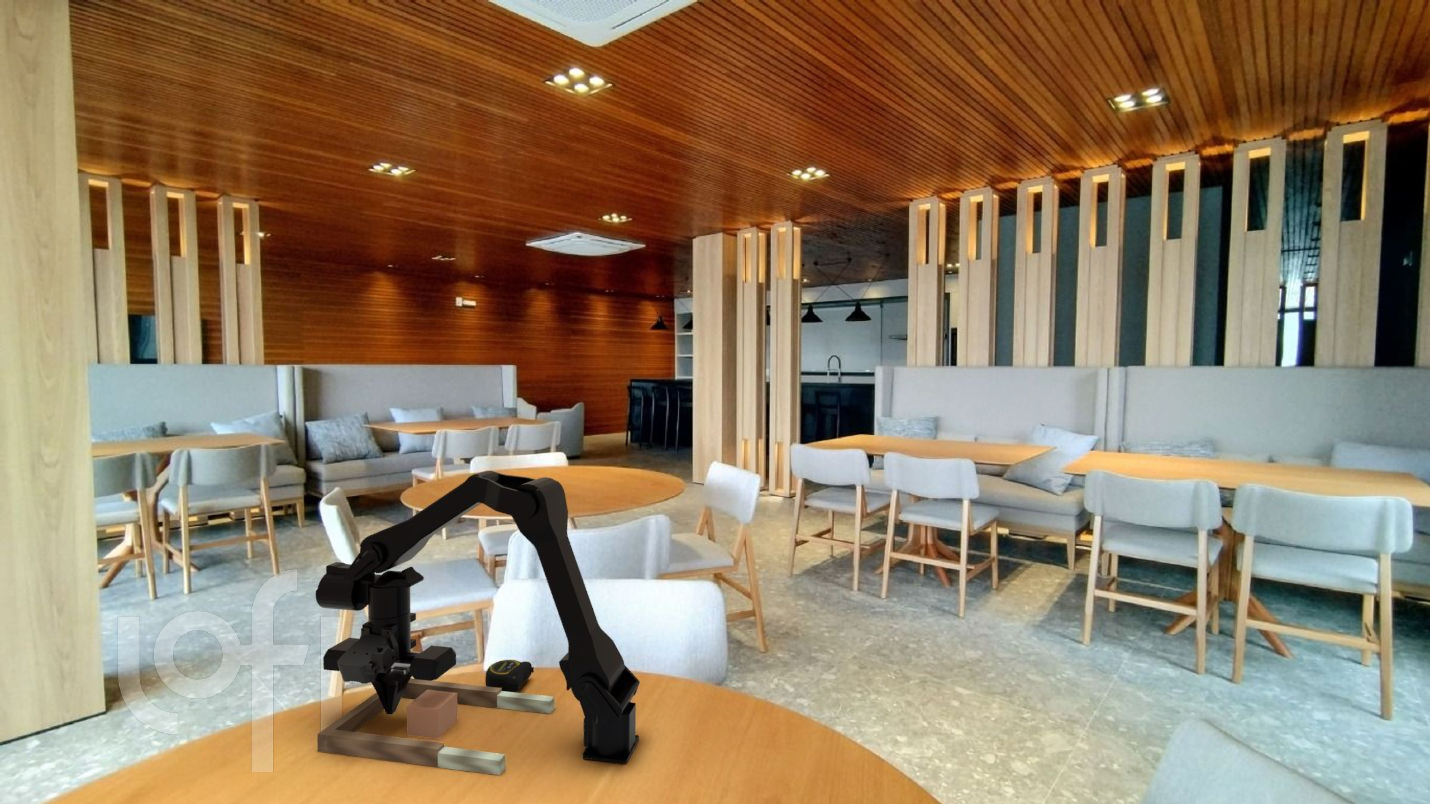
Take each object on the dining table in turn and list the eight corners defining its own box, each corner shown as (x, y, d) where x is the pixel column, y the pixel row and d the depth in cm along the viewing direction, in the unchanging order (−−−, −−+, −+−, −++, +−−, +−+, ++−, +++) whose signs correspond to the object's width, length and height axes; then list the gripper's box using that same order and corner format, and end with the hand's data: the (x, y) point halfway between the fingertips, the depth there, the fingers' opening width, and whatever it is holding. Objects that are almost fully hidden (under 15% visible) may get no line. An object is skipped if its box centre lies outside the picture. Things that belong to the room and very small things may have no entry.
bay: (554, 709, 105) (554, 693, 105) (499, 775, 88) (499, 757, 88) (398, 691, 110) (398, 676, 110) (317, 751, 93) (317, 733, 92)
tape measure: (517, 700, 108) (517, 677, 108) (477, 696, 109) (477, 674, 109) (534, 680, 115) (534, 659, 115) (496, 677, 116) (496, 656, 116)
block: (457, 721, 101) (457, 692, 101) (438, 739, 96) (437, 709, 96) (427, 718, 102) (427, 689, 102) (407, 735, 97) (406, 705, 97)
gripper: (292, 627, 93) (294, 735, 94) (411, 638, 90) (413, 750, 91) (349, 600, 104) (350, 697, 105) (457, 609, 101) (458, 709, 102)
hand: (390, 713), depth 100 cm, fingers closed
